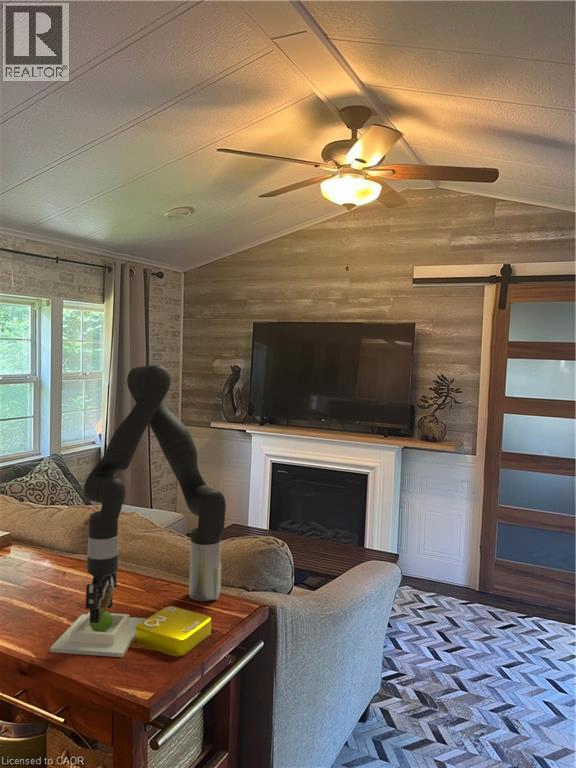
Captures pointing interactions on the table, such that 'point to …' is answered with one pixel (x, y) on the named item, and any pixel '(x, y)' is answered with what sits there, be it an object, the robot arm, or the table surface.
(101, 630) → the snail figurine
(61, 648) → the collar stand
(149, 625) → the element tile
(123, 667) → the table surface
